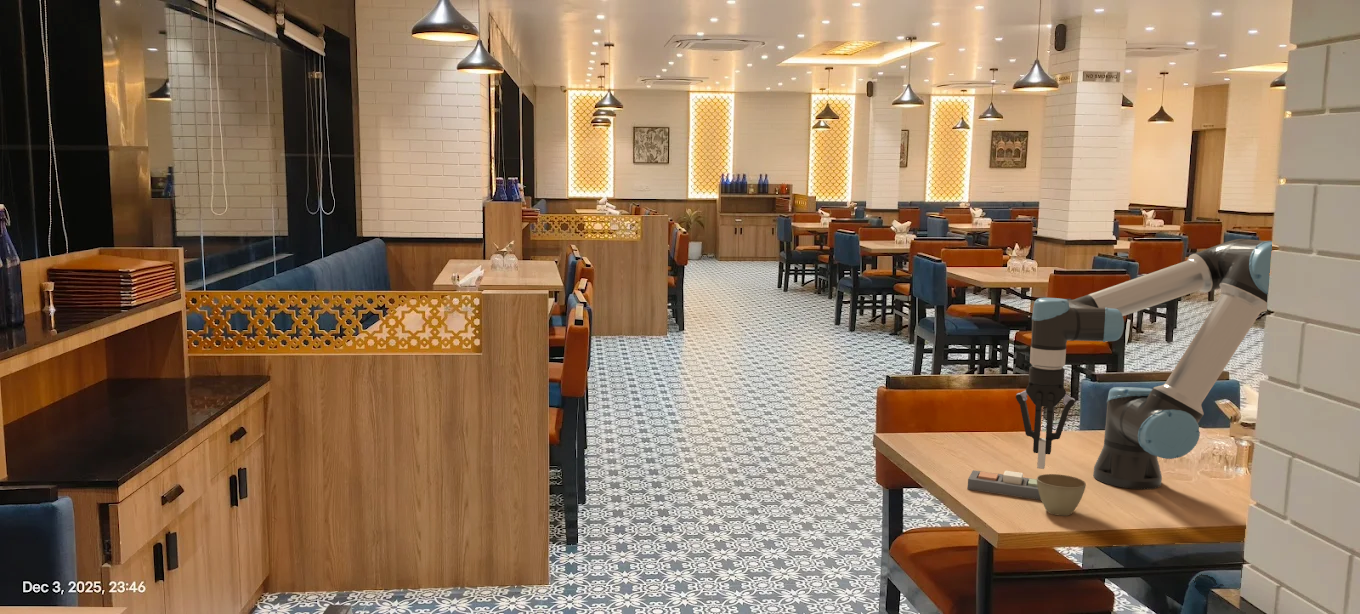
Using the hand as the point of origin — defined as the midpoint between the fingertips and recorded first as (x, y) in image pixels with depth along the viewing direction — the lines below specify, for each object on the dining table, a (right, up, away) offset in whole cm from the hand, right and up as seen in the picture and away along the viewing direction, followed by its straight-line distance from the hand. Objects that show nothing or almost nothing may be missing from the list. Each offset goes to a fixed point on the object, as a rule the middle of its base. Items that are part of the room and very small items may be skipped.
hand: (1041, 467), depth 224 cm
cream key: (-6, -4, +3) cm, 8 cm away
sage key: (-1, -6, +1) cm, 6 cm away
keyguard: (-6, -6, +3) cm, 9 cm away
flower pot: (0, -8, -11) cm, 14 cm away
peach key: (-11, -5, +5) cm, 13 cm away
